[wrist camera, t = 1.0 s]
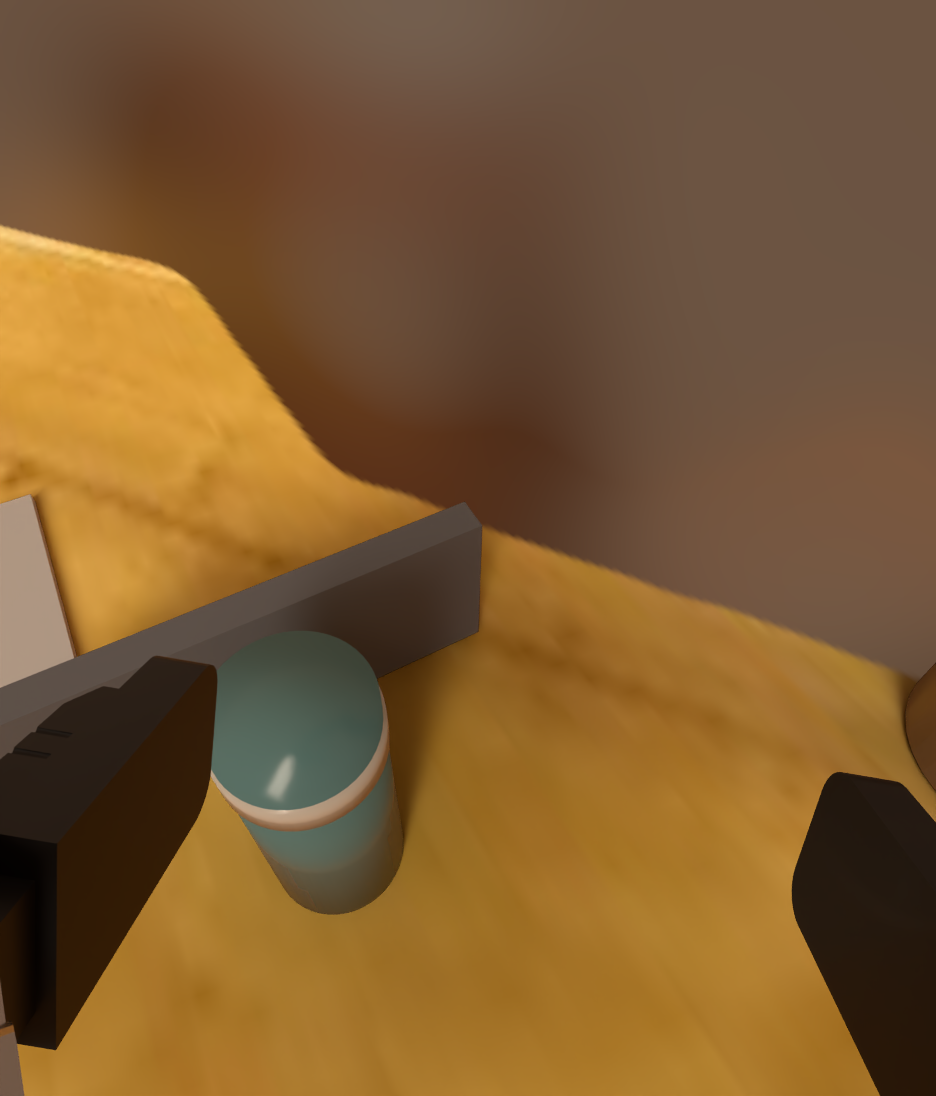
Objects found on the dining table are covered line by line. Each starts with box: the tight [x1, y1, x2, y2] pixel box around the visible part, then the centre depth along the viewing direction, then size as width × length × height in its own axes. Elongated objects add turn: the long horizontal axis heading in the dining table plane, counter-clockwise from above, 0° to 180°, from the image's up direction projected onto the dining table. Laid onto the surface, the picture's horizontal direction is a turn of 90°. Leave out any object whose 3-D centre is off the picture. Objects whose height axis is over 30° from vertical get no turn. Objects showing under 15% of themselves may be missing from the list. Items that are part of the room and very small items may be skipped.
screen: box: [0, 502, 482, 759], centre depth 32 cm, size 20×2×8 cm, turn 119°
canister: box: [211, 631, 404, 914], centre depth 27 cm, size 5×5×12 cm
